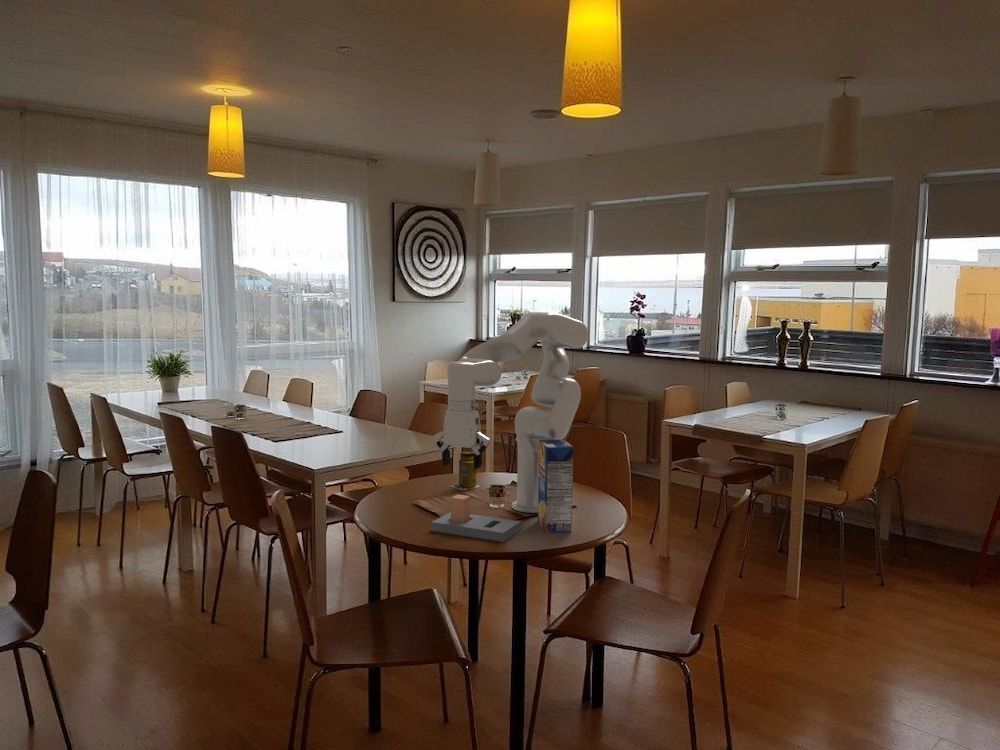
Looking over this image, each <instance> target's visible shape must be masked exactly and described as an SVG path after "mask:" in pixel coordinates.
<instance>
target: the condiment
mask: <svg viewBox="0 0 1000 750" xmlns="http://www.w3.org/2000/svg"><path fill="white" fill-rule="evenodd" d="M474 455H475V452H474V451H473V450H472V451H471V450H469V451H468V450H467V451H466V450H465V451H461V452H460V454H459V456H460V457H459V460H458V484H453V485H449V487H451V488H453V489H457V490H462V491H468V490H471V489H476V488H481V487H482V485H478V484H477V469H474ZM458 485H459V487H458ZM460 487H461V488H460ZM462 488H465V489H462ZM468 488H469V489H468Z"/></svg>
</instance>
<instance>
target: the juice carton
mask: <svg viewBox="0 0 1000 750" xmlns="http://www.w3.org/2000/svg"><path fill="white" fill-rule="evenodd" d="M574 448H575V447H574V446H573V445H572V444H570V443H569V442H568V441H567V440H566V439H562V440H539V482H538V513H537V521H538V523H539V525H540V527H541V528H542V530H543V531H544V533H545V534H546V533H571V532H572V530H573V528H572V527H573V487H574V485H573V484H574V480H573V479H574Z"/></svg>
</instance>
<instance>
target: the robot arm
mask: <svg viewBox="0 0 1000 750" xmlns="http://www.w3.org/2000/svg"><path fill="white" fill-rule="evenodd" d="M588 340H589V329H588V327H587V326H586V324H585V323H584V322H582V321H581V320H579V319H575V318H573V317H569V316H567V315H564V314H561V313H557V312H552V311H546V312H545V311H532V312H528V313H526V314H525V315H523V316H522V317H521V318H520V319H519V320H518V321H516V322H515V323H514V324H513V325H512V326H510V327H509V328H508V329H507V330H506V331H505V332H503V333H502V334H500V335H498V336H495V337H493V338H491V339H488V340H486V341H485V342H482V343H480V344H478V345H476V346H475V347H473V348H471V349H470V350H468V351H467V352H466V353H465V354H463V356H461V357H460V359H459V360H458V361H451V362H450V363H449V364H448V365H447V409H446V411H445V414H444V421H443V430H441V431H439V432H437V433H436V434H433V438H434V440H435V442H436V445H437V447H438V448H439V451H440V452H441V462H442V466H444V467H445V466H448V465H450V464H451V450H450V447H456V448H457V447H459V448H470V449H471V450H472V452H475V455H474V469H476V470H478V469H479V468H481V467H482V465H483V463H482V462H483V453H484V452H485V451H486V450H488V449H489V448H488V447H489V445H490V443H491V438H489V437H488V436H486V435H485V434H483V433H482V427H481V420H480V415H479V411H478V410H476V409H479V407H480V403H479V402H476V387H492V386H494V385H496V384H497V383H498V382H499V381H500V380H501V378H502V369H501V366H500V365H499V364H498V363H504V362H508V361H509V362H510V361H513V360H517V359H519V358H521V357H522V356H523V355H524V354H525V353H527V351H529V349H531V348H532V347H533V346H534V345H535V344H536V343H538V342H540V345H541V348H542V353H543V361H542V364H541V367H540V370H539V372H538V375H537V376H536V379H535V381H534V384H533V386H532V390H531V395H530V396H531V399H532V401H533V402H534V403H535V404H537V405H539V406H525V407H524V406H523V408H521V409H519V410H518V411H517V413H516V415H515V417H514V429H515V434H516V441H517V460H516V461H517V475H516V481H517V482H516V500H514V501H513V502H512V503H511V508H512V509H513V510H515V511H516V512H521V513H529V514H530V513H531V514H535V513H536V514H538V482H539V440H564V438H565V437H566V436H567V435H568V432H569V430H570V428H571V426H572V423H573V421H574V417H575V415H576V412H577V411H578V409H579V405H580V402H581V396H582V393H581V392H582V390H581V387H580V384H579V383H578V382H577V381H576V380H575V379H573V378H570V377H567V376H568V373H569V370H570V360H569V357H568V355H567V352H566V350H565V349H580V348H583V347H584V346H585V345H586V344H587V342H588ZM540 406H544V407H540ZM545 407H548V408H545ZM549 407H550V408H549ZM482 442H483V443H482ZM481 444H482V445H481Z"/></svg>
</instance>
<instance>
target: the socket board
mask: <svg viewBox="0 0 1000 750" xmlns="http://www.w3.org/2000/svg"><path fill="white" fill-rule="evenodd" d="M521 530H522V521H521V520H513V519H507V518H499V517H492V516H485V515H478V514H471V513H470V521H468V522H466V523H460V522H453V521H451V511H450V512H448V513H447V514H444V515H442V516H440V517H438V518H436V519H434V520H433V521H431V522H430V531H432V532H435V533H436V532H437V533H443V534H449V535H456V536H457V535H458V536H463V537H469V538H475V539H482V540H489V541H494V542H501V543H503V542H506V541H507V540H509V539H510V538H511V537H513V536H515V534H517V533H519V532H520V531H521Z"/></svg>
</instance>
